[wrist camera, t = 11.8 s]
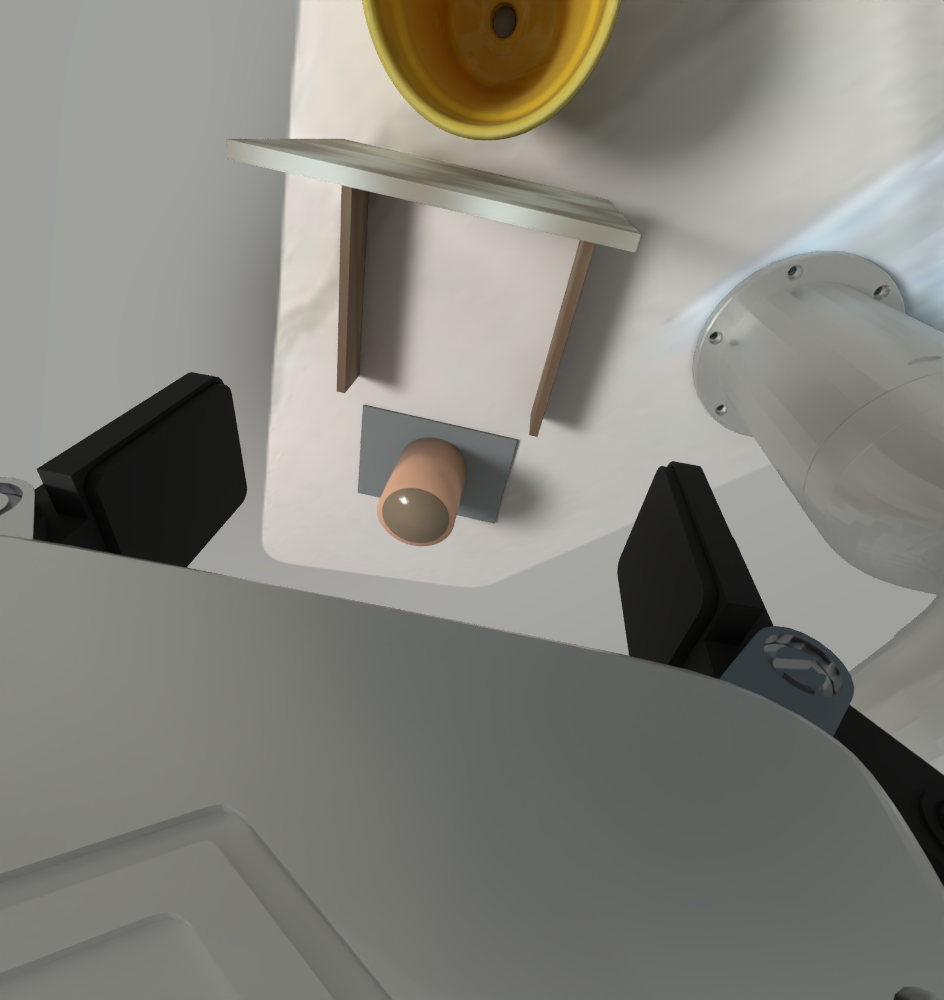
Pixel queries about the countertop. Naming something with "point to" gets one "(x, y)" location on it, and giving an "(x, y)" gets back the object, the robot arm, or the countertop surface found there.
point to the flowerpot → (423, 492)
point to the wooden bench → (448, 190)
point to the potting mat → (479, 449)
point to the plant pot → (489, 59)
